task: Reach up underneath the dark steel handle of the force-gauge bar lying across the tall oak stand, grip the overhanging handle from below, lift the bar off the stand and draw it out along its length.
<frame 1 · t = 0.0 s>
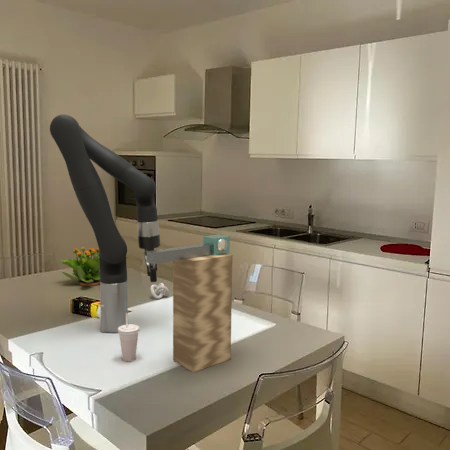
hand: (152, 278, 169), 17 cm above the table, tool pointing down, fingers open, 8 cm apart
knot: (160, 297, 205), on the table
gauge bar: (189, 257, 135), point 32 cm above the table, touching stand
potted flower: (88, 284, 225), on the table
stand: (202, 359, 142), on the table
smoothie: (129, 359, 142), on the table
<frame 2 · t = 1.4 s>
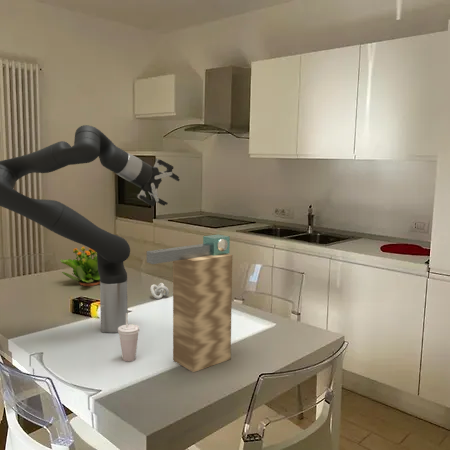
hand: (172, 191, 155), 49 cm above the table, tool tilted 65°, fingers open, 8 cm apart
nothing on the table moved.
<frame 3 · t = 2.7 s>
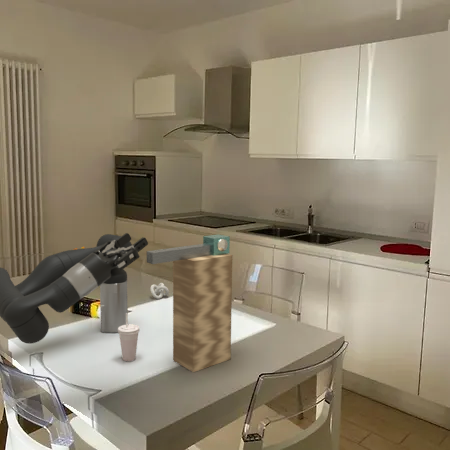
hand: (137, 238, 123), 39 cm above the table, tool pointing upward, fingers open, 8 cm apart
nothing on the table moved.
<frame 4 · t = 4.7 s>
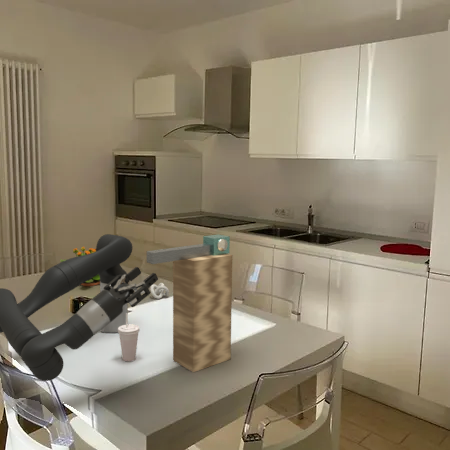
hand: (147, 272, 126), 30 cm above the table, tool pointing upward, fingers open, 8 cm apart
nothing on the table moved.
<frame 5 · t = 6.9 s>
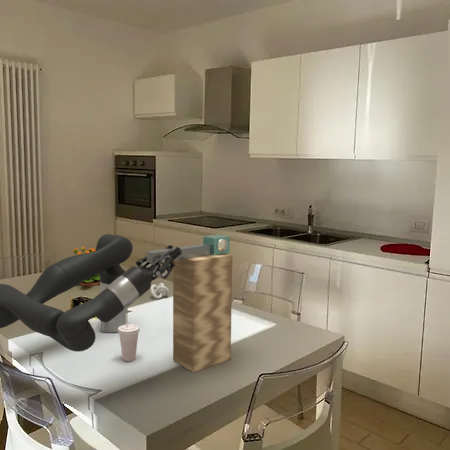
hand: (175, 248, 131), 35 cm above the table, tool pointing upward, fingers closed on gauge bar, 3 cm apart
gauge bar: (189, 257, 135), point 32 cm above the table, touching gripper
everything else where it was.
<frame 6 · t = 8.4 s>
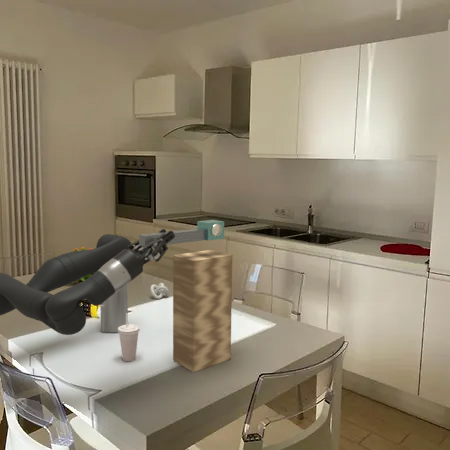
hand: (169, 232, 129), 40 cm above the table, tool pointing upward, fingers closed on gauge bar, 3 cm apart
gauge bar: (182, 241, 132), point 37 cm above the table, touching gripper
everything else where it was.
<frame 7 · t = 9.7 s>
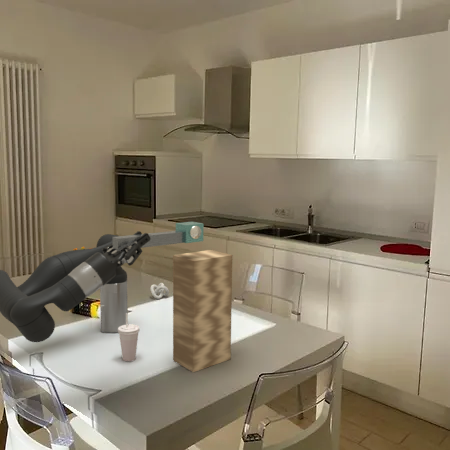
hand: (144, 235, 124), 40 cm above the table, tool pointing upward, fingers closed on gauge bar, 3 cm apart
gauge bar: (159, 244, 128), point 37 cm above the table, touching gripper
everything else where it was.
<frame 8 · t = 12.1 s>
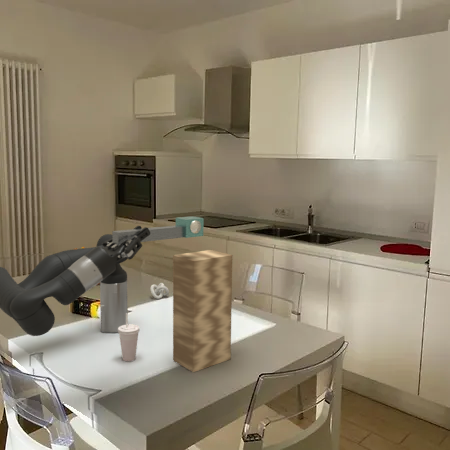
hand: (144, 229, 124), 41 cm above the table, tool pointing upward, fingers closed on gauge bar, 3 cm apart
gauge bar: (159, 238, 127), point 38 cm above the table, touching gripper
everything else where it was.
at the end: the gripper is holding gauge bar; gauge bar point 38.2 cm above the table; gauge bar moved 11.7 cm from its start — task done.
